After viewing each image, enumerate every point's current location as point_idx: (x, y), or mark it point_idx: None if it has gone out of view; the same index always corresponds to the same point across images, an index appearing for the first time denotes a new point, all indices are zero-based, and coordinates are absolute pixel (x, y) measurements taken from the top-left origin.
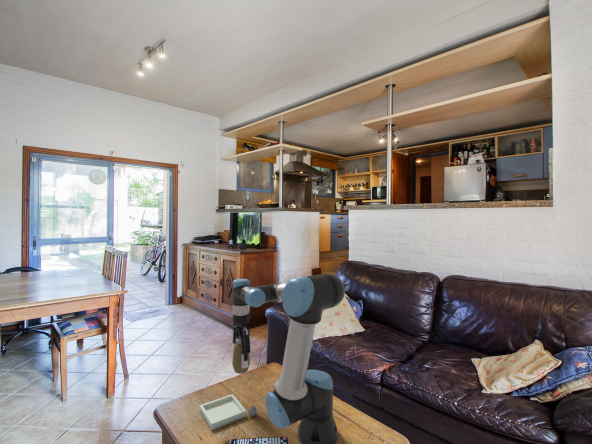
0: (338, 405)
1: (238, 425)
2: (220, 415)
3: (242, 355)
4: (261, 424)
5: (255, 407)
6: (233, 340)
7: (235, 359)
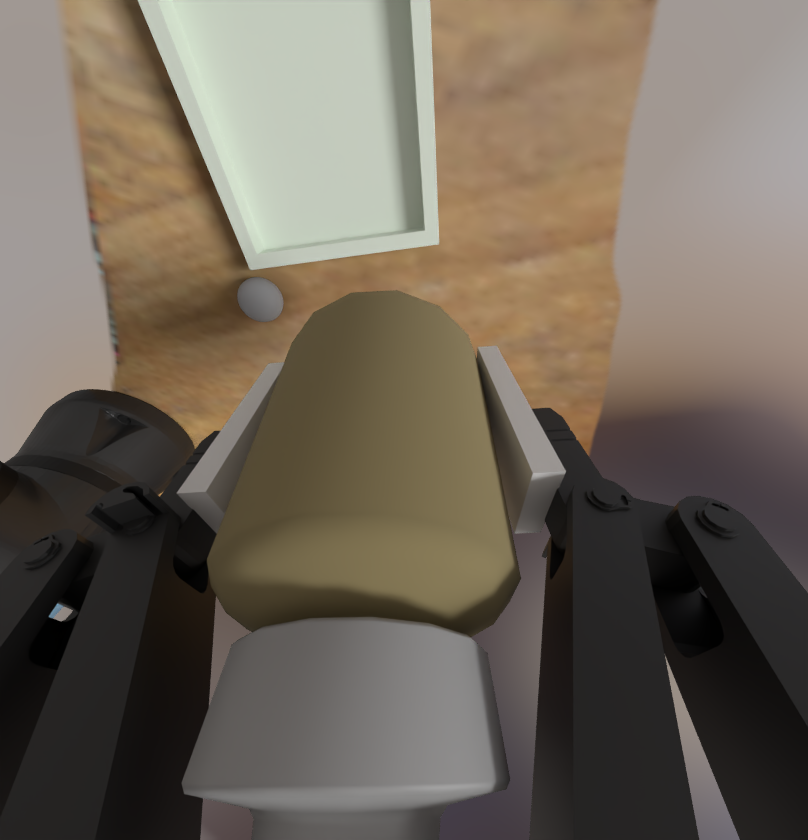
0: None
1: (194, 195)
2: (282, 92)
3: (195, 470)
4: (195, 307)
5: (255, 319)
6: (725, 569)
7: (309, 351)
